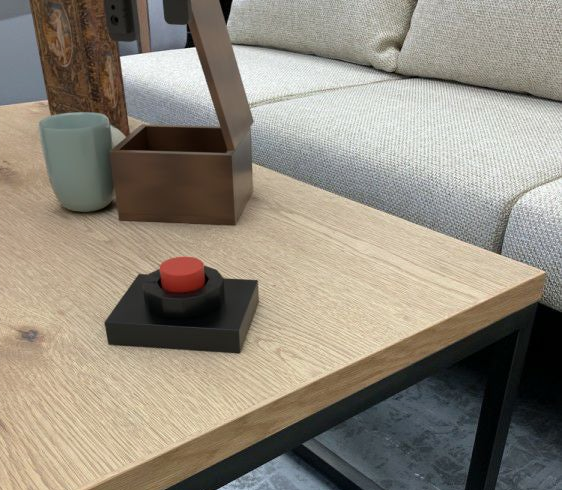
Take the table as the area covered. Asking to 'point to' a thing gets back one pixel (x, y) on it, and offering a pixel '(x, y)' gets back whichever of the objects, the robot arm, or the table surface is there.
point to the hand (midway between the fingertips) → (153, 32)
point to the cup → (78, 159)
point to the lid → (220, 70)
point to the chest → (181, 175)
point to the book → (79, 59)
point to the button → (182, 274)
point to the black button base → (184, 314)
